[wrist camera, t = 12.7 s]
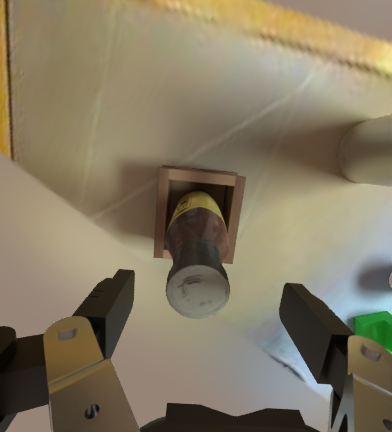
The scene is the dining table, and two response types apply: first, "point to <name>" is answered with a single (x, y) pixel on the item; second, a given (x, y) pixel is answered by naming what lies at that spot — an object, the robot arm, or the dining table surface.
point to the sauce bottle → (197, 257)
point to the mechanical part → (375, 328)
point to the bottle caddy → (202, 181)
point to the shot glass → (390, 280)
